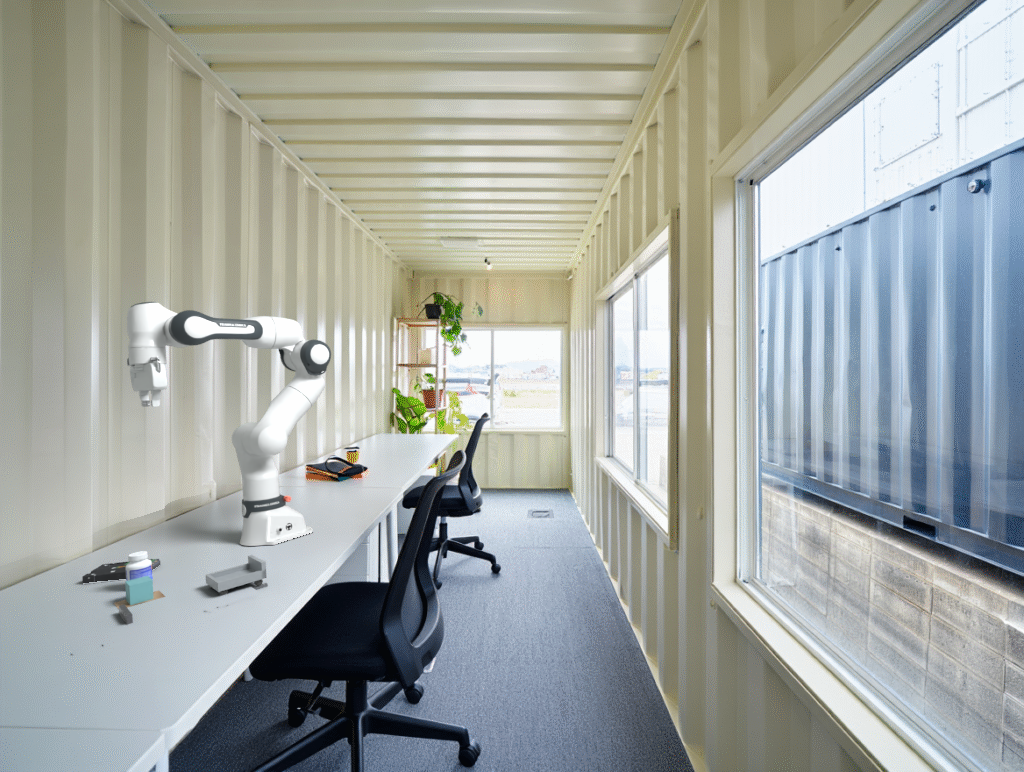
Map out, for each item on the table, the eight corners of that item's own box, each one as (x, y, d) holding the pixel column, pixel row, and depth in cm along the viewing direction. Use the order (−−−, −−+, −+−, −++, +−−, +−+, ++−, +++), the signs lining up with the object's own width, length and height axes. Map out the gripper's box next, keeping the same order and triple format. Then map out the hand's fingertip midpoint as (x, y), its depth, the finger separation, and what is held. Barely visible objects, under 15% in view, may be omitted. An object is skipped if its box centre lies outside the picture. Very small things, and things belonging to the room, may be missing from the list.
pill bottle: (158, 588, 133) (156, 550, 133) (137, 597, 128) (135, 557, 128) (143, 586, 135) (141, 549, 135) (121, 595, 130) (119, 556, 129)
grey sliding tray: (252, 576, 136) (251, 554, 136) (266, 584, 130) (265, 561, 130) (206, 590, 128) (205, 567, 128) (218, 599, 122) (217, 575, 122)
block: (148, 594, 126) (147, 575, 126) (153, 598, 123) (152, 579, 123) (126, 600, 123) (125, 581, 123) (130, 605, 120) (129, 585, 120)
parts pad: (159, 595, 128) (159, 590, 128) (165, 601, 124) (165, 596, 124) (113, 607, 122) (113, 602, 122) (119, 614, 118) (119, 609, 118)
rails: (255, 579, 136) (255, 567, 136) (268, 586, 131) (267, 574, 131) (119, 619, 115) (118, 605, 115) (127, 630, 110) (126, 615, 110)
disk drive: (81, 587, 138) (145, 579, 142) (81, 576, 138) (144, 568, 142) (102, 573, 148) (161, 566, 152) (101, 564, 148) (160, 556, 152)
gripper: (172, 356, 145) (175, 405, 145) (150, 360, 158) (153, 405, 158) (145, 356, 140) (148, 407, 140) (125, 360, 153) (127, 407, 154)
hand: (150, 406), depth 149 cm, fingers open, 8 cm apart
